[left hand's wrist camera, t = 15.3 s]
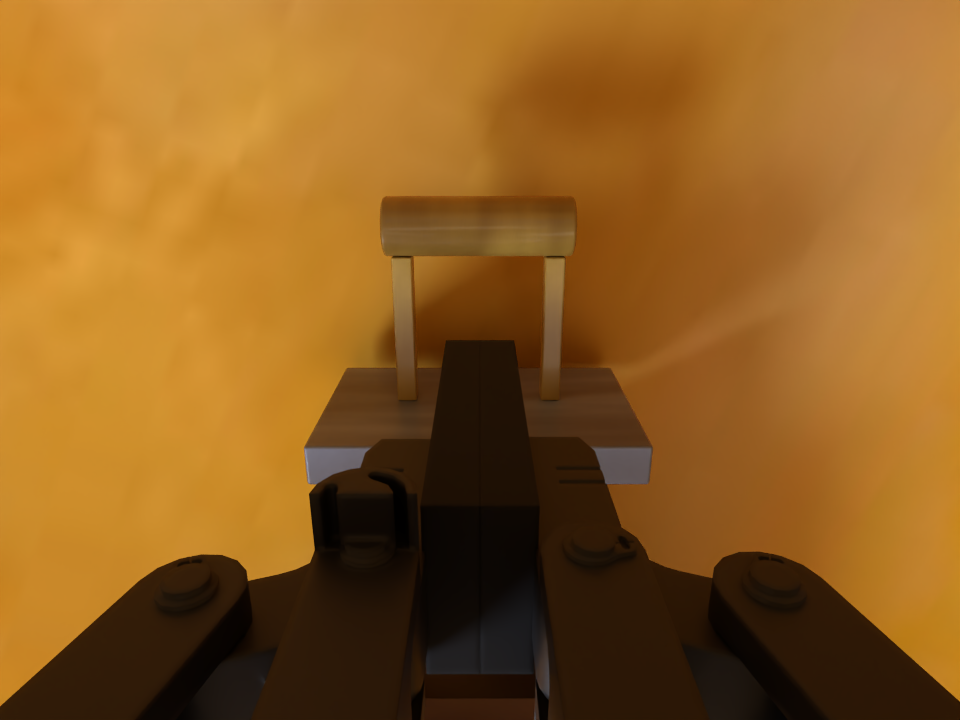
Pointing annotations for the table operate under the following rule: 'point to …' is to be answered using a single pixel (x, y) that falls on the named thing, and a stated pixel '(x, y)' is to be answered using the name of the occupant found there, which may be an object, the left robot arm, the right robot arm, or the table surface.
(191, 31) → the table surface
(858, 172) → the table surface
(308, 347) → the table surface
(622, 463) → the drawer
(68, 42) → the table surface
